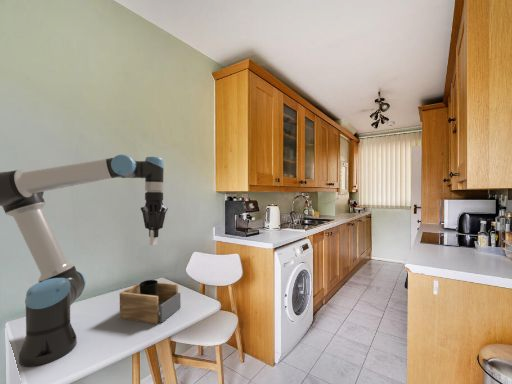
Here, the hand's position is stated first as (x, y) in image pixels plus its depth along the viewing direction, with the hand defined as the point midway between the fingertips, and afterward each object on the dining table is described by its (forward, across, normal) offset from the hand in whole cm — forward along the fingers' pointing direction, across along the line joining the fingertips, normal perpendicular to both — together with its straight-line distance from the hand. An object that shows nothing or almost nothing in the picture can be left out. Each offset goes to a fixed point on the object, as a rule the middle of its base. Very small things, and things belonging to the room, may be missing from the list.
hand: (153, 244), depth 108 cm
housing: (+32, +4, -2) cm, 32 cm away
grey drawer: (+31, +1, -2) cm, 31 cm away
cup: (+30, +4, -2) cm, 31 cm away
